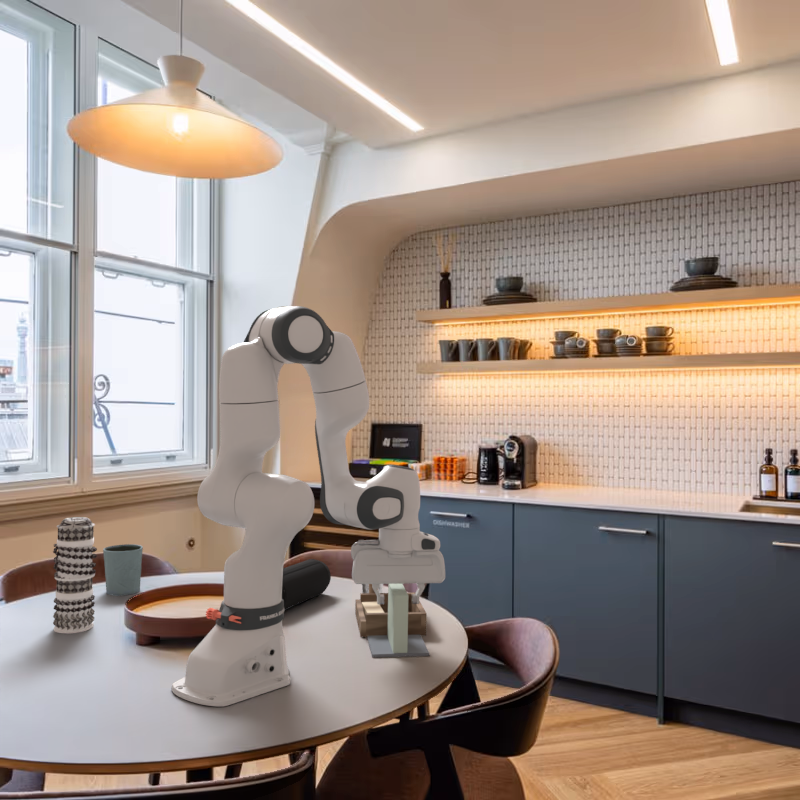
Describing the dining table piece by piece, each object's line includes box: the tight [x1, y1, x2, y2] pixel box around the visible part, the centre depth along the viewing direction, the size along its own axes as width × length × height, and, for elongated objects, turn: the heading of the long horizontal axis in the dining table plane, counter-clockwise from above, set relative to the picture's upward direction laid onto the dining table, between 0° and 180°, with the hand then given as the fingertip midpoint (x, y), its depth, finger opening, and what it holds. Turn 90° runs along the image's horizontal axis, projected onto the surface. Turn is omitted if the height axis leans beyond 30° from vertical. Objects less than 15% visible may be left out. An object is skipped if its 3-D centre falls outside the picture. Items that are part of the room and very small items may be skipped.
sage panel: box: [387, 584, 408, 653], centre depth 155 cm, size 11×3×12 cm, turn 7°
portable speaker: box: [282, 558, 332, 611], centre depth 187 cm, size 26×10×10 cm, turn 154°
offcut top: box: [362, 602, 384, 619], centre depth 171 cm, size 11×4×2 cm, turn 12°
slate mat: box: [366, 634, 430, 658], centre depth 155 cm, size 12×12×1 cm
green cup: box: [102, 543, 144, 597], centre depth 196 cm, size 10×10×12 cm
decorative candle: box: [52, 516, 98, 635], centre depth 164 cm, size 9×9×25 cm
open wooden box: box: [354, 592, 428, 638], centre depth 171 cm, size 18×15×5 cm
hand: (397, 603), depth 155 cm, fingers open, 6 cm apart
